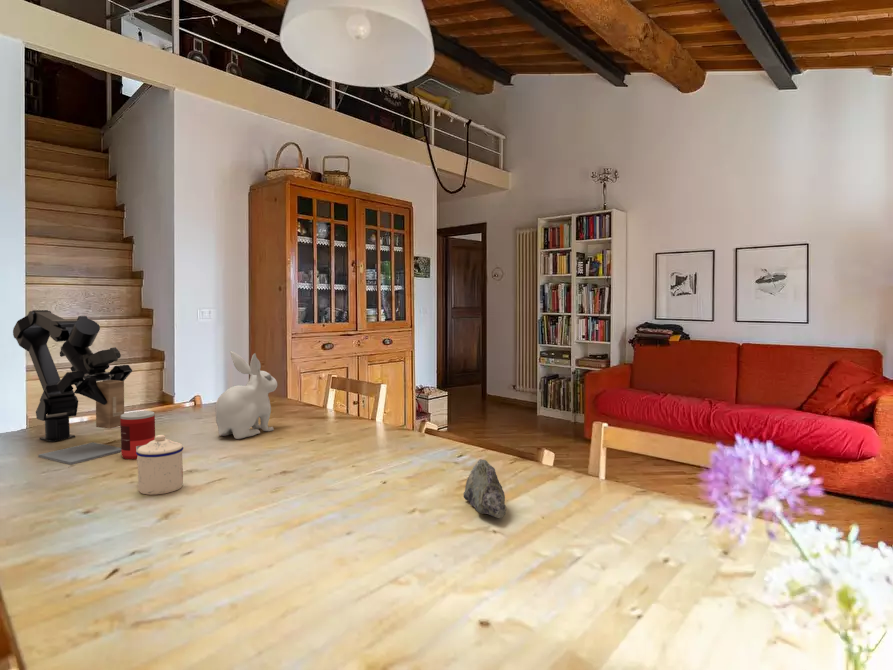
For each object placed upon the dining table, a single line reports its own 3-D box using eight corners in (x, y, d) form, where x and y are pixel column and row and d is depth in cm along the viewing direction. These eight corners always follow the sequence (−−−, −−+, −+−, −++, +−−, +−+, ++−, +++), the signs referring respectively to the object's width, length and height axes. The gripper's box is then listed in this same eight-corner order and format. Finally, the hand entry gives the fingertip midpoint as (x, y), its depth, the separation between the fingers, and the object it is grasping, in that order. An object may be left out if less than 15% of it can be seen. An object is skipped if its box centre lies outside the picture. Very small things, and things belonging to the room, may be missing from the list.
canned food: (161, 451, 151) (160, 411, 150) (142, 460, 143) (141, 417, 142) (134, 450, 152) (133, 410, 151) (114, 459, 144) (113, 416, 143)
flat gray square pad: (38, 456, 145) (38, 454, 145) (93, 444, 157) (93, 442, 157) (70, 464, 139) (70, 462, 139) (125, 450, 151) (125, 448, 151)
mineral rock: (501, 528, 103) (501, 474, 103) (446, 519, 107) (446, 467, 106) (517, 504, 116) (518, 455, 115) (467, 496, 119) (468, 450, 119)
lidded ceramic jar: (193, 485, 124) (192, 433, 124) (155, 498, 116) (154, 443, 116) (158, 477, 130) (156, 427, 129) (119, 488, 122) (117, 435, 121)
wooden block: (96, 426, 150) (95, 382, 149) (111, 423, 154) (110, 379, 153) (110, 428, 148) (109, 383, 148) (125, 425, 153) (124, 381, 152)
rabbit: (288, 429, 177) (287, 350, 176) (231, 443, 160) (230, 355, 158) (263, 424, 184) (262, 348, 182) (206, 437, 166) (205, 353, 164)
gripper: (64, 341, 142) (99, 388, 139) (127, 336, 160) (158, 377, 157) (42, 369, 145) (75, 416, 142) (105, 361, 163) (136, 403, 160)
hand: (113, 402), depth 150 cm, fingers closed on wooden block, 5 cm apart
